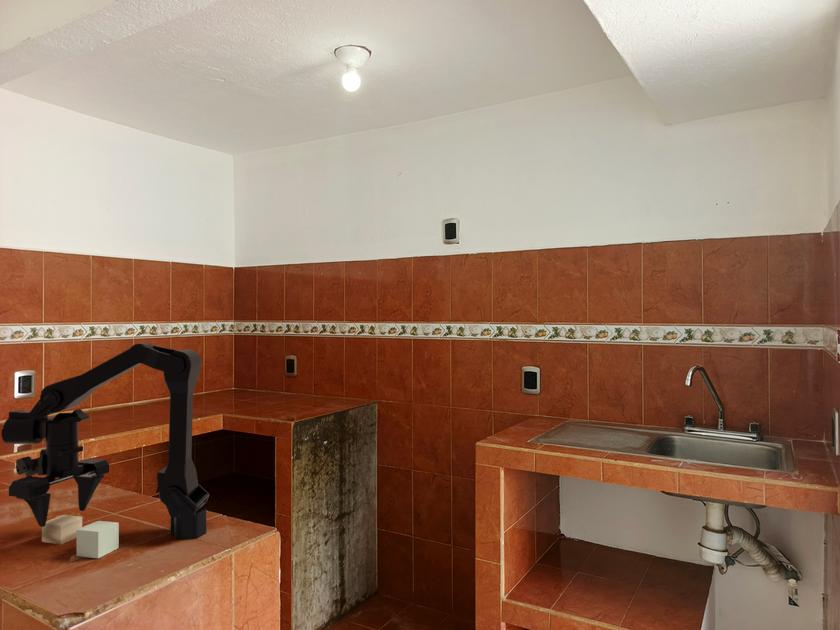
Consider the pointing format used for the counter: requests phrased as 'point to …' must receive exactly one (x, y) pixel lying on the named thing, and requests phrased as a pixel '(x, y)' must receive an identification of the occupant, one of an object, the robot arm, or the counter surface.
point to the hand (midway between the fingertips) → (62, 518)
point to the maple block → (61, 529)
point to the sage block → (97, 539)
